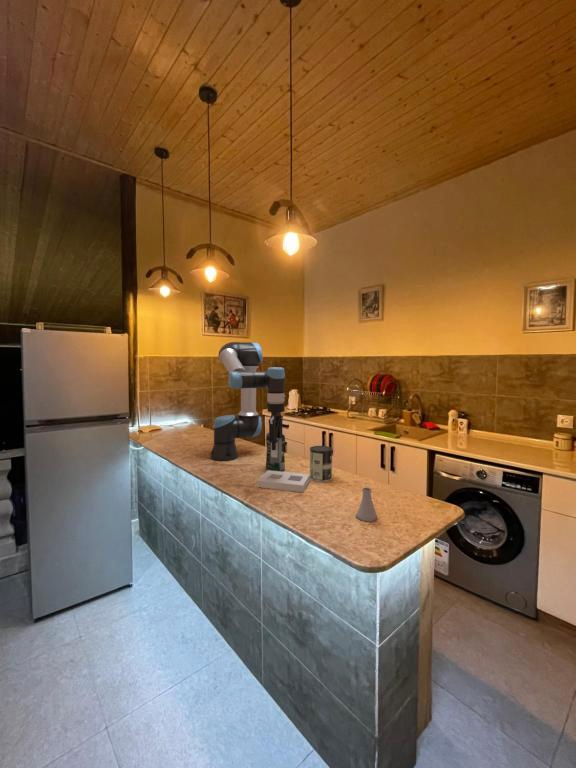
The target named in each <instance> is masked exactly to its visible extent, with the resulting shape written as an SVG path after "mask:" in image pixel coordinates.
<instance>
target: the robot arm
mask: <svg viewBox="0 0 576 768" xmlns="http://www.w3.org/2000/svg"><path fill="white" fill-rule="evenodd" d="M263 359H264V357H263V350H262V347H261V345H260V344H259V343H257V342H244V341H243V342H242V341H240V342H239V341H237V342H236V341H232V342H227V343H226V344H224V345H223V346H222V347H220V349H219V351H218V360H219V362H220V363H221V364H222V365H224V366H225V368H226V370H227V373H228V376H227V383H228V387H229V388H230V389H236V390H239V389H240V411H239V412H238V414H237V417H236V416H235V415H234V414H227V415H226V414H225V415H221V416H218V417H217V416H216V418H214V420H213V446H212V449H211V452H210V459H211V460H213V461H217V462H218V461H219V462H223V461H225V462H226V461H227V462H229V461H232V460H236V459H238V458H239V452H238V447H237V445H236V439H240V438H241V439H242V438H253V437H258V436H259V435H260V433H261V432H262V426H263V425H262V424H263V422H262V420H263V419H262V416H259V415H260V414H259V412H257V389H267V397H266V398H267V399H266V400H267V408H266V409H267V412H268V413H271V415H270V418H268V433H269V442H271V457H276V458H277V457H278V442H277V438H281V437H282V434H283V423H284V422H283V420H284V415H282V413H284V412H285V411H286V410H285V409H286V408H285V405H286V404H285V403H284V402H285V398H286V395H285V387H286V386H285V384H286V383H285V382H286V380H285V379H286V374H285V373H286V372H285V368H284V367H268V368H267V371H257V369H258V368H259V366H260V364H262V363H263ZM282 440H283V438H282Z"/></svg>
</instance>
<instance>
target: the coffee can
mask: <svg viewBox="0 0 576 768" xmlns="http://www.w3.org/2000/svg"><path fill="white" fill-rule="evenodd" d="M309 465H310V466H309V474H310V481H313V482H316V483H317V482H319V483H327V482H330V481H332V480H331V479H333V476H332V475H333V472H332V471H333V469H332V468H333V448H332V447H331V446H327V445H313V446H311V447H309Z"/></svg>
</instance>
